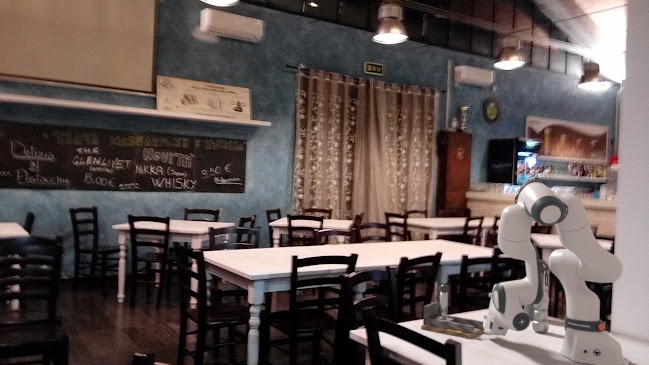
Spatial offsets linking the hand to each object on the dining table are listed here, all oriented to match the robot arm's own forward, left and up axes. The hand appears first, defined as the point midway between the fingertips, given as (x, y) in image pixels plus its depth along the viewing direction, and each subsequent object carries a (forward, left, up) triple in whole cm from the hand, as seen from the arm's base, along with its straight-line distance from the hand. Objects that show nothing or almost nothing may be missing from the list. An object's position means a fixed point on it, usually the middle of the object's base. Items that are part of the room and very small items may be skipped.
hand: (487, 306), depth 228 cm
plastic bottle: (-17, -19, -12) cm, 28 cm away
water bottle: (-9, -42, -12) cm, 44 cm away
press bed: (+13, +4, -11) cm, 18 cm away
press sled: (+18, +4, -10) cm, 21 cm away
